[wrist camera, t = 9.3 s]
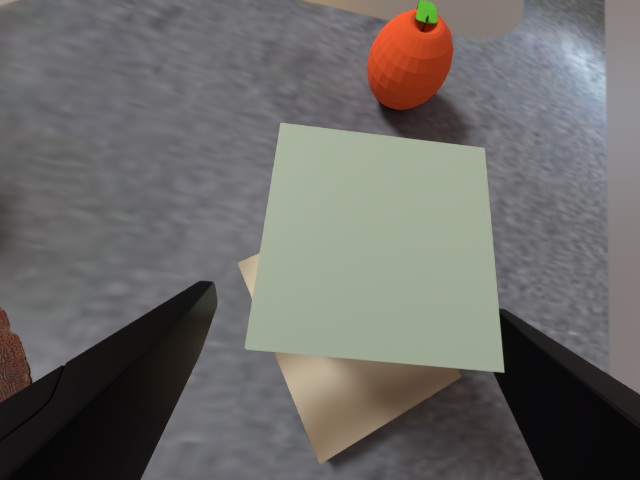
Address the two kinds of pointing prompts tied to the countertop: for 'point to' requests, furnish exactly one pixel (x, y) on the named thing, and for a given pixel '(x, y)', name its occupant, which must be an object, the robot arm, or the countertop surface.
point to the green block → (377, 252)
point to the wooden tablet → (11, 361)
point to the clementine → (410, 58)
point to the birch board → (350, 390)
